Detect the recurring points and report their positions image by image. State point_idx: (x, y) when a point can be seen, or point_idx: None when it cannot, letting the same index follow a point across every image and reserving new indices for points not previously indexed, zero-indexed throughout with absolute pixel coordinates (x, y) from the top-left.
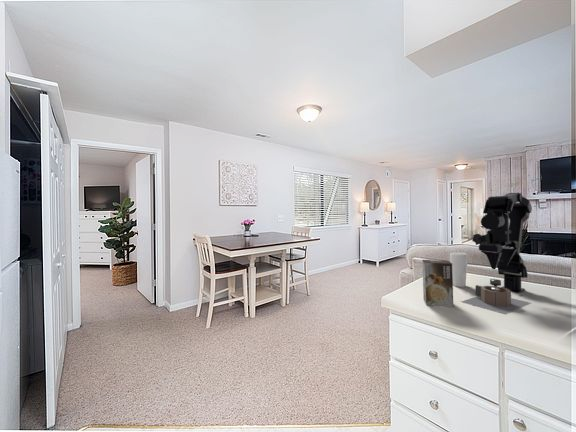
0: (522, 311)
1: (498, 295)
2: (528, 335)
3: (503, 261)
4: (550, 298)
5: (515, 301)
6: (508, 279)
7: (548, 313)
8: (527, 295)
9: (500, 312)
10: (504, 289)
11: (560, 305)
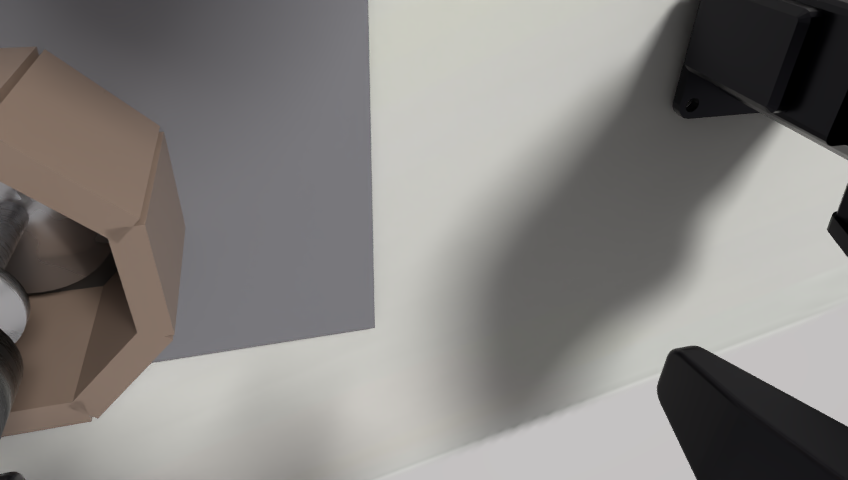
0: None
1: None
2: None
3: (755, 437)
4: (653, 301)
5: (284, 261)
6: (807, 60)
7: (223, 461)
8: (627, 192)
9: None
10: (131, 330)
11: (505, 397)
